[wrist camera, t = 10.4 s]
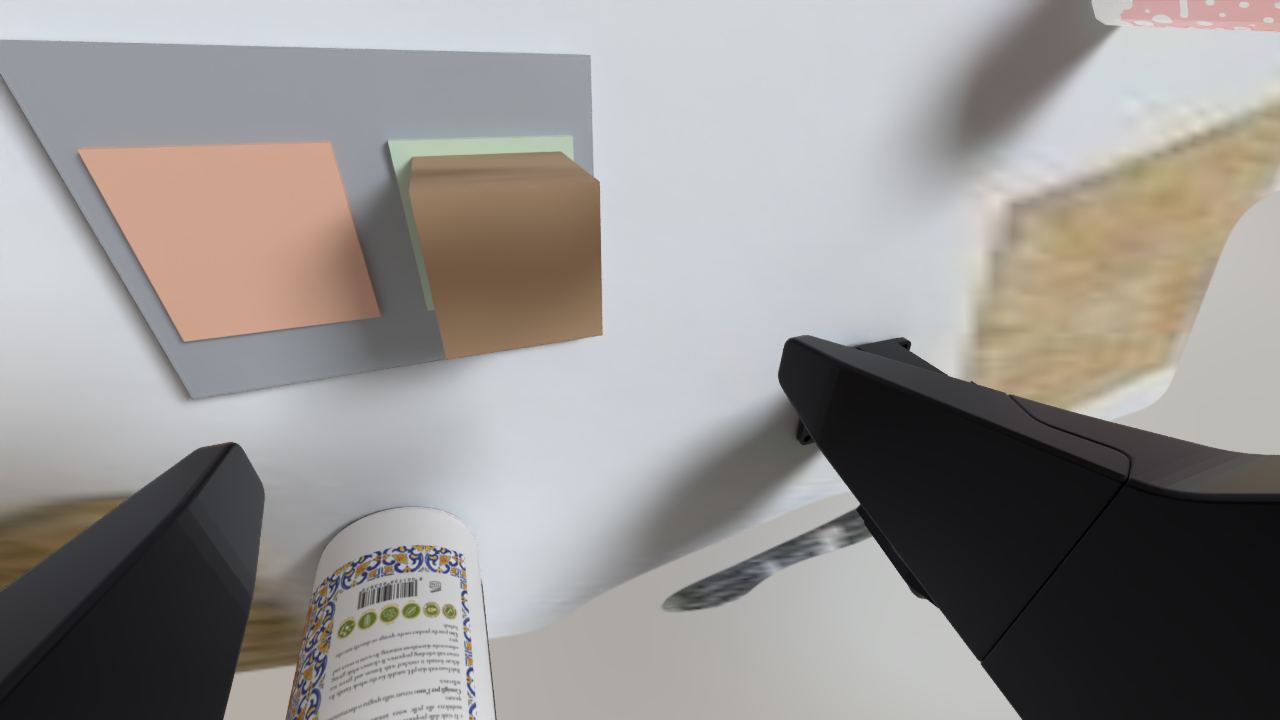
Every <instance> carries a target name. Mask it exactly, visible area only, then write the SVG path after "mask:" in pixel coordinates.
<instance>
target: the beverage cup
mask: <svg viewBox="0 0 1280 720" xmlns="http://www.w3.org/2000/svg"><path fill="white" fill-rule="evenodd" d="M1092 6H1093V10H1094V14H1095V17H1096V19H1097V20H1099V21H1100V22H1102V23H1103V24H1105V25H1120V26H1146V27H1172V28H1198V29H1224V30H1250V31H1277V32H1280V0H1092Z"/></svg>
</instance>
